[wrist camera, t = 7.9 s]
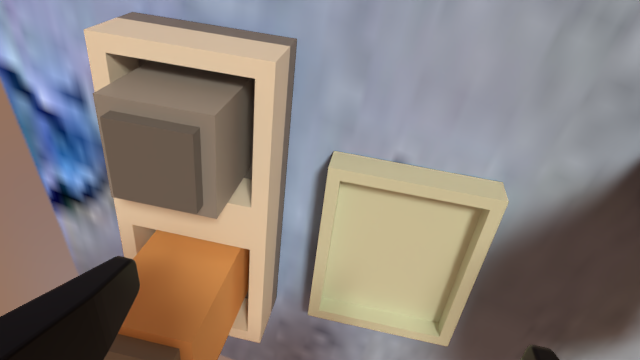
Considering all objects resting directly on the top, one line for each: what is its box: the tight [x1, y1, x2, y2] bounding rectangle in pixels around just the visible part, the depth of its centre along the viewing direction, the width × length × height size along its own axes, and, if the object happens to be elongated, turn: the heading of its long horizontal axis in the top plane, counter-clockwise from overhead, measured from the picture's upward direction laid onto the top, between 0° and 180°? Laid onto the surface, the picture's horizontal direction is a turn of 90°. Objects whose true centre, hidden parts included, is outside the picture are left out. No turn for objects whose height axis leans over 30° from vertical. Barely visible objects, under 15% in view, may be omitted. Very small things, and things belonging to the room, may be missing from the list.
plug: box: [104, 230, 249, 360], centre depth 21 cm, size 4×4×8 cm
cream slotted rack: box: [84, 12, 297, 343], centre depth 21 cm, size 8×16×6 cm, turn 174°
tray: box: [308, 151, 509, 346], centre depth 23 cm, size 8×10×2 cm
